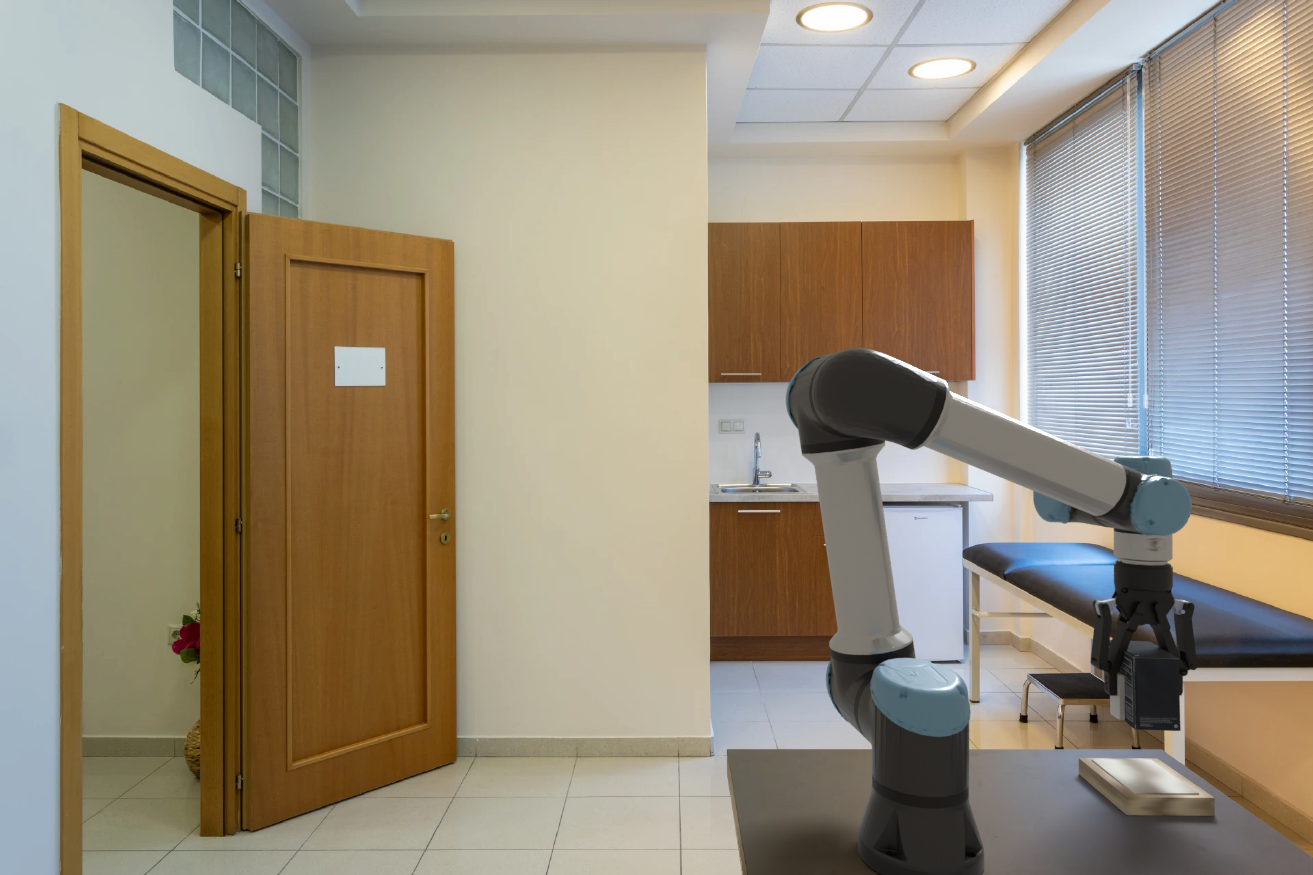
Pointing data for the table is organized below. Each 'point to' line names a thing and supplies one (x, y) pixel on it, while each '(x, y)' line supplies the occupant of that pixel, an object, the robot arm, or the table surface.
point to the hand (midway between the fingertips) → (1143, 716)
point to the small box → (1151, 687)
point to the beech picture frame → (1146, 787)
